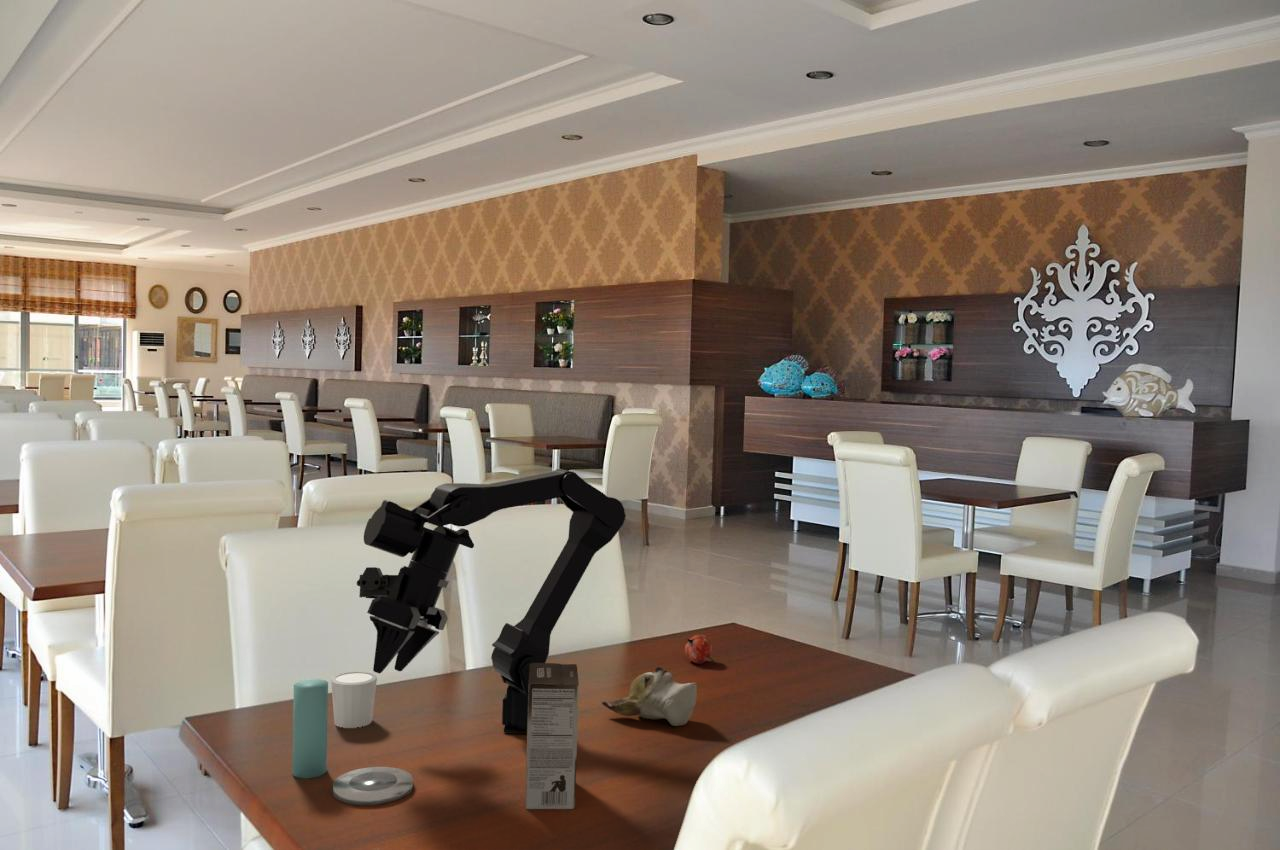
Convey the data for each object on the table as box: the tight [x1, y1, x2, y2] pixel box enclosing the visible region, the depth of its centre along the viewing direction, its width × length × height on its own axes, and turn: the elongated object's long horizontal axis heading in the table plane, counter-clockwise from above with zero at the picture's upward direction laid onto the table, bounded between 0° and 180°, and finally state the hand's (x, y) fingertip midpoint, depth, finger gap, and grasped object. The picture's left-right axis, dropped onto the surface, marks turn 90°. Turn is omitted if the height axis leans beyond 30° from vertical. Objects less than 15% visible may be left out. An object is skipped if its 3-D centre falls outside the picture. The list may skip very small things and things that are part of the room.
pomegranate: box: [684, 634, 714, 665], centre depth 192 cm, size 6×6×8 cm
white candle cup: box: [330, 671, 378, 729], centre depth 153 cm, size 7×7×7 cm
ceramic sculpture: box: [601, 666, 698, 727], centre depth 159 cm, size 11×9×15 cm
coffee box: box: [525, 662, 580, 810], centre depth 127 cm, size 9×6×16 cm
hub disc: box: [332, 766, 414, 806], centre depth 128 cm, size 10×10×1 cm
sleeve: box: [291, 678, 329, 779], centre depth 132 cm, size 4×4×12 cm
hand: (387, 671), depth 140 cm, fingers open, 9 cm apart
